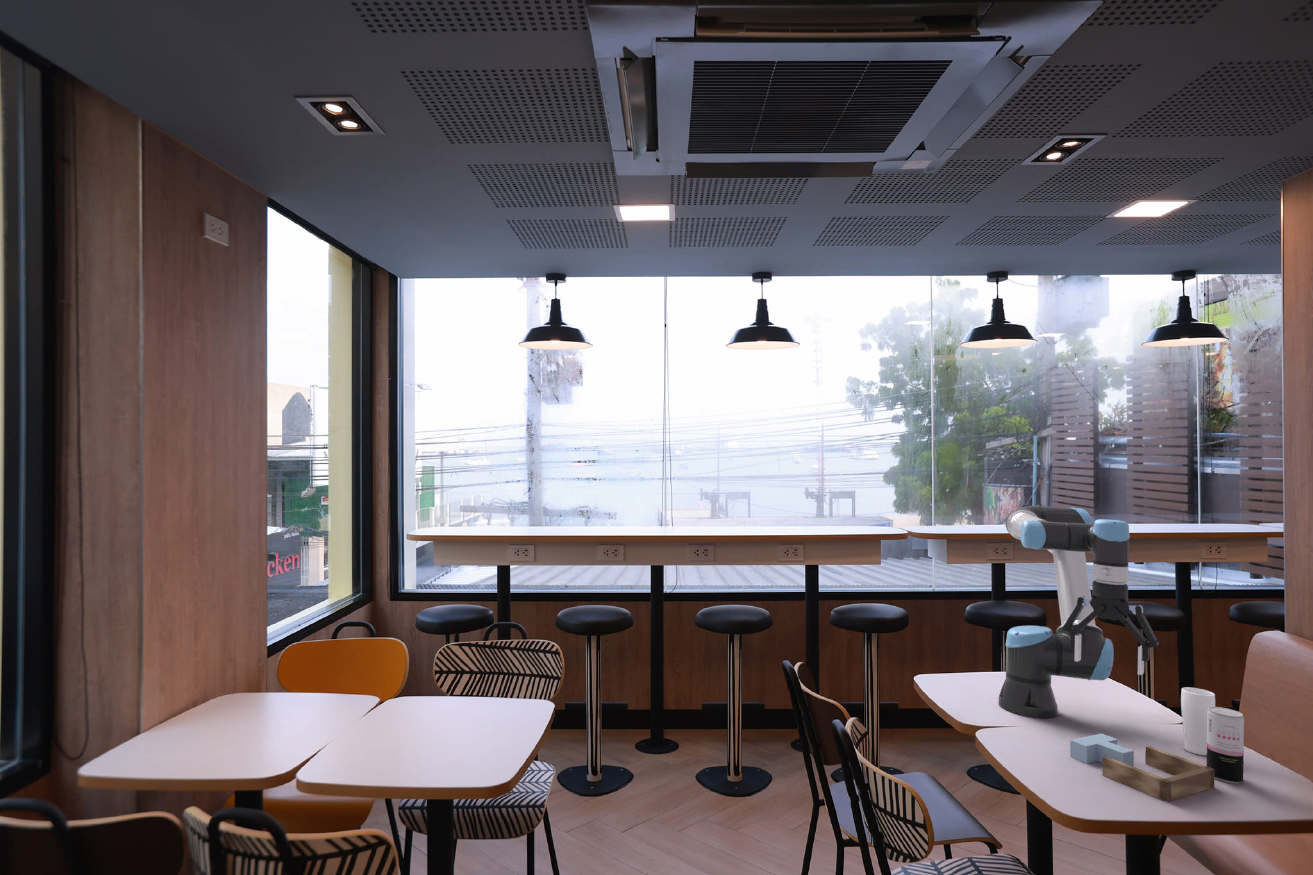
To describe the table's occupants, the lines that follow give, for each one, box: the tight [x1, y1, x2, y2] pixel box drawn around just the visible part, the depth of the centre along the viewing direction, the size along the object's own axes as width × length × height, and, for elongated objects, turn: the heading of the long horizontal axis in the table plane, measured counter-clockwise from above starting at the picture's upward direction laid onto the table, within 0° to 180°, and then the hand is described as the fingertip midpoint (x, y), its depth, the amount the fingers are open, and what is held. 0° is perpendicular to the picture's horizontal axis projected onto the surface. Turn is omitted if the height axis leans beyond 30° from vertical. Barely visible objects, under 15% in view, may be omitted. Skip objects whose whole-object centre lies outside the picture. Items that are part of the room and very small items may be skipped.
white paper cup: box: [1180, 686, 1216, 756], centre depth 175 cm, size 7×7×15 cm
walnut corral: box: [1101, 745, 1215, 803], centre depth 157 cm, size 14×18×4 cm
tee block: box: [1069, 733, 1135, 767], centre depth 167 cm, size 10×12×4 cm
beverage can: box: [1206, 706, 1245, 784], centre depth 161 cm, size 6×7×15 cm
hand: (1108, 667), depth 175 cm, fingers open, 13 cm apart
